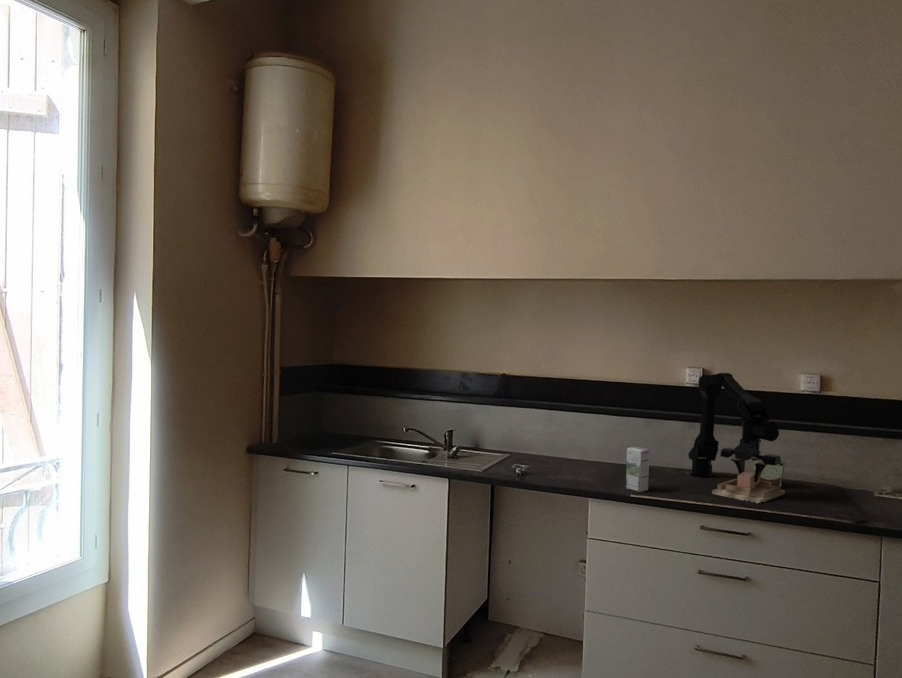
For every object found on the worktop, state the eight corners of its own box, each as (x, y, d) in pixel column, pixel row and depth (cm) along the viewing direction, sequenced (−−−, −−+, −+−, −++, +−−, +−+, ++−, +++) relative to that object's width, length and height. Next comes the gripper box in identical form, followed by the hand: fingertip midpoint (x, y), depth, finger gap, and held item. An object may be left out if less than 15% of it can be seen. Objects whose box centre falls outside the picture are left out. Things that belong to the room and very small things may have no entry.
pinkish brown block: (737, 486, 224) (737, 475, 224) (748, 480, 235) (748, 469, 234) (749, 488, 221) (750, 477, 221) (760, 482, 232) (760, 470, 232)
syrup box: (648, 490, 228) (650, 448, 228) (639, 492, 224) (640, 450, 224) (634, 486, 233) (636, 446, 232) (624, 489, 229) (626, 447, 228)
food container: (791, 486, 241) (792, 459, 241) (784, 489, 237) (785, 461, 237) (757, 480, 250) (758, 454, 250) (750, 482, 246) (751, 455, 246)
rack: (711, 493, 226) (712, 483, 226) (739, 484, 241) (739, 475, 241) (759, 503, 214) (759, 492, 214) (784, 493, 230) (785, 483, 229)
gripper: (714, 434, 229) (712, 478, 229) (769, 442, 215) (767, 489, 216) (728, 431, 236) (726, 474, 237) (782, 439, 223) (780, 484, 223)
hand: (748, 480), depth 228 cm, fingers closed on pinkish brown block, 4 cm apart
